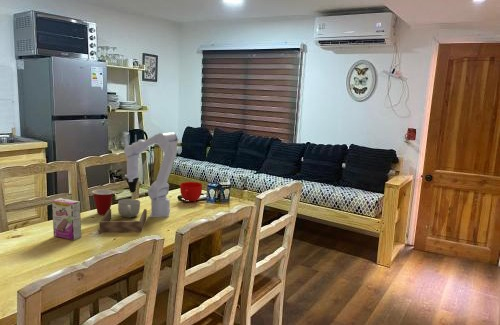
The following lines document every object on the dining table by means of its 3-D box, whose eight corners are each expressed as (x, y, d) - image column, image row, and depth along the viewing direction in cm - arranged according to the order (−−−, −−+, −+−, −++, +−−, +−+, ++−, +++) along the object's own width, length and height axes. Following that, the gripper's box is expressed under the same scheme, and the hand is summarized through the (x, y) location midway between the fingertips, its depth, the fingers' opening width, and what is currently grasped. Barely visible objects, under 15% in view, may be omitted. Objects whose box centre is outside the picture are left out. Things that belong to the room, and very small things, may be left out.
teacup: (121, 212, 205) (120, 197, 204) (142, 212, 206) (142, 198, 205) (114, 221, 192) (114, 205, 190) (137, 221, 193) (136, 205, 191)
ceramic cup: (174, 204, 222) (174, 187, 221) (184, 197, 239) (184, 181, 237) (196, 206, 220) (196, 189, 219) (204, 198, 237) (204, 182, 235)
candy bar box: (52, 236, 169) (50, 200, 166) (61, 233, 174) (60, 197, 171) (73, 241, 166) (71, 203, 163) (82, 237, 170) (80, 200, 167)
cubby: (146, 218, 197) (146, 209, 196) (141, 232, 179) (141, 221, 178) (108, 218, 195) (108, 209, 194) (99, 232, 176) (99, 222, 175)
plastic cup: (119, 212, 205) (119, 190, 202) (102, 218, 196) (101, 194, 193) (105, 208, 210) (105, 187, 208) (88, 213, 201) (87, 191, 199)
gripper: (127, 164, 215) (127, 188, 217) (122, 169, 201) (122, 195, 203) (140, 164, 216) (140, 188, 218) (136, 170, 202) (136, 195, 204)
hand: (132, 191), depth 211 cm, fingers closed
